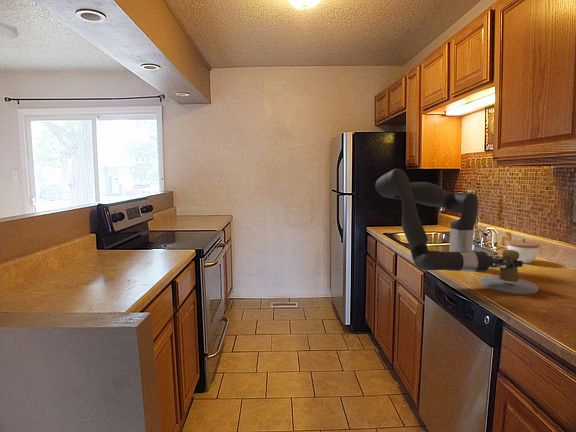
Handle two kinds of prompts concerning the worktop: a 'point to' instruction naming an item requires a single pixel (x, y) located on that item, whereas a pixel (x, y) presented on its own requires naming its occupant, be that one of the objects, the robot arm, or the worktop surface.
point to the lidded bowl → (524, 249)
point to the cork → (510, 273)
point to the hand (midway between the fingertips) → (517, 262)
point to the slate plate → (509, 285)
